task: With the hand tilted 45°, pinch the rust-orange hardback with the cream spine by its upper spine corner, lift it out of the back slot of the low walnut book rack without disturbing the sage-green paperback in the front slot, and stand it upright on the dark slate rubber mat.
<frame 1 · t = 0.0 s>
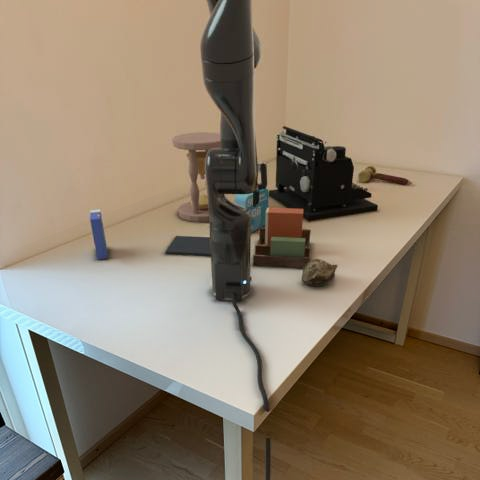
hand: (237, 205, 115), 17 cm above the table, tool pointing down, fingers open, 8 cm apart
paperback: (286, 263, 126), resting in book rack
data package: (251, 228, 149), on the table
book rack: (282, 254, 131), on the table
book: (283, 251, 133), resting in book rack
typewriter: (320, 203, 170), on the table
slate mat: (204, 247, 136), on the table
gavel: (385, 182, 192), on the table
walkman: (102, 254, 133), on the table
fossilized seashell: (318, 282, 117), on the table
hourglass: (204, 214, 161), on the table
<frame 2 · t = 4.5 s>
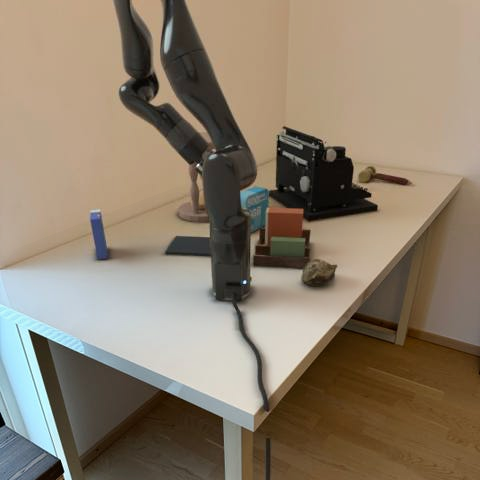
hand: (231, 187, 125), 18 cm above the table, tool tilted 45°, fingers open, 8 cm apart
nothing on the table moved.
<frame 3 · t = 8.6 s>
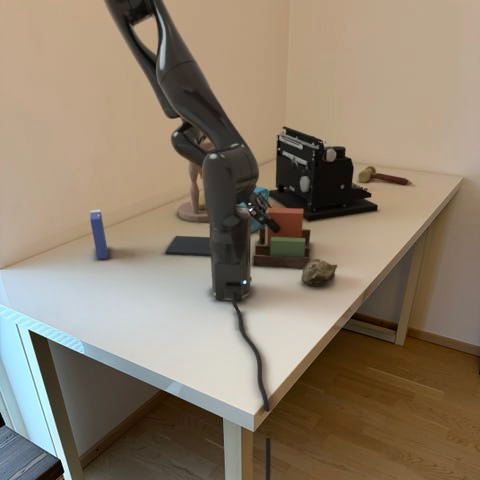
hand: (278, 227, 129), 7 cm above the table, tool tilted 45°, fingers closed on book, 4 cm apart
book: (283, 251, 133), resting in book rack, touching gripper
everything else where it was.
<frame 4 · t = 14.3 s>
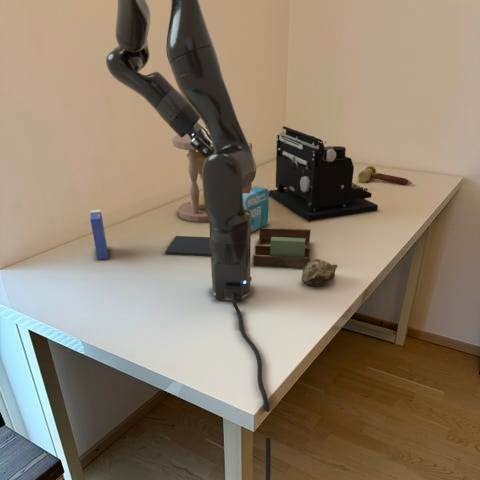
hand: (226, 163, 122), 24 cm above the table, tool tilted 45°, fingers closed on book, 4 cm apart
book: (232, 190, 126), point 17 cm above the table, touching gripper
everything else where it was.
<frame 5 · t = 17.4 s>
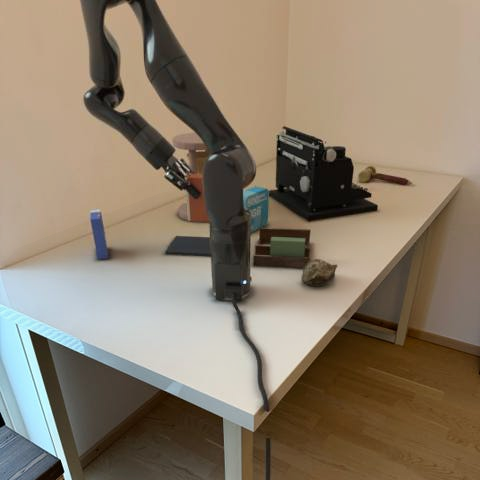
hand: (200, 194, 127), 16 cm above the table, tool tilted 45°, fingers closed on book, 4 cm apart
book: (207, 219, 131), point 9 cm above the table, touching gripper
everything else where it was.
when the fingers open (8 cm above the table, at t = 19.9 s): book stays where it is, resting on slate mat.
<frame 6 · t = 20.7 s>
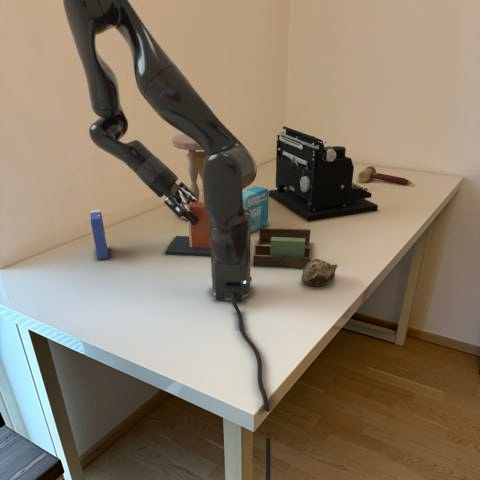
hand: (200, 217, 131), 9 cm above the table, tool tilted 45°, fingers open, 8 cm apart
book: (208, 245, 135), point 1 cm above the table, touching slate mat
everything else where it was.
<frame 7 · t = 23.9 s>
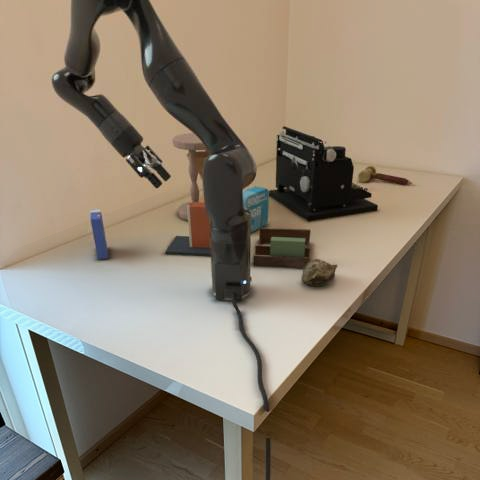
hand: (164, 182, 126), 19 cm above the table, tool tilted 40°, fingers open, 8 cm apart
nothing on the table moved.
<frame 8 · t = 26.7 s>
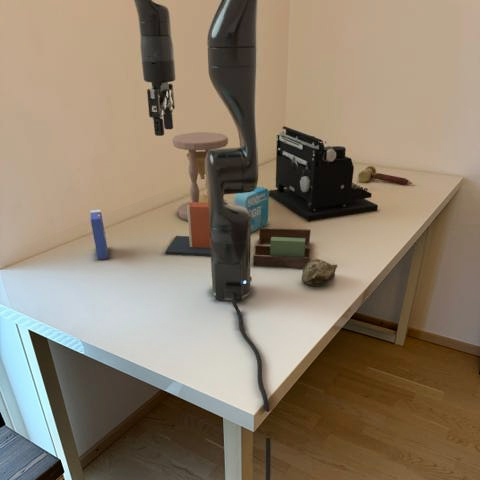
hand: (164, 132, 117), 32 cm above the table, tool pointing down, fingers open, 8 cm apart
nothing on the table moved.
at the end: book inside the target area on the slate mat (1.3 cm from its centre), point 0.8 cm above the slate mat's base; book tilted 0°; paperback moved 0.0 cm from its start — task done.
